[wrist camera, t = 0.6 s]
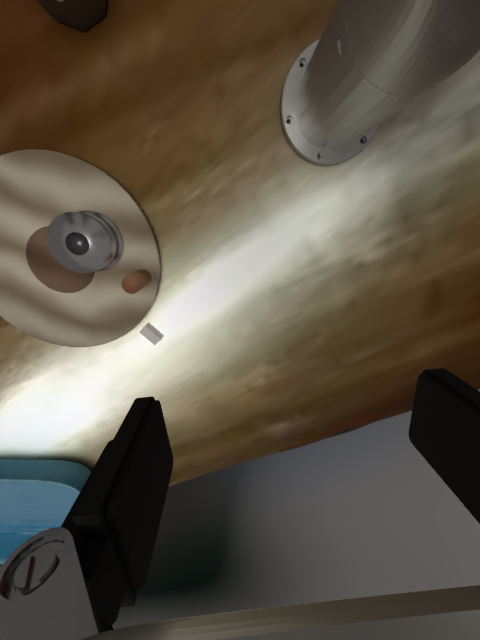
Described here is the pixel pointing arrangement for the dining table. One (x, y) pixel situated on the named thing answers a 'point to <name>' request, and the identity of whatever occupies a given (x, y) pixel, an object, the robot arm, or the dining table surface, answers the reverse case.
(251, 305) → the dining table surface
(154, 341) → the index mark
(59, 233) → the cover
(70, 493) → the casserole dish
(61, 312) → the turntable
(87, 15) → the beer bottle
